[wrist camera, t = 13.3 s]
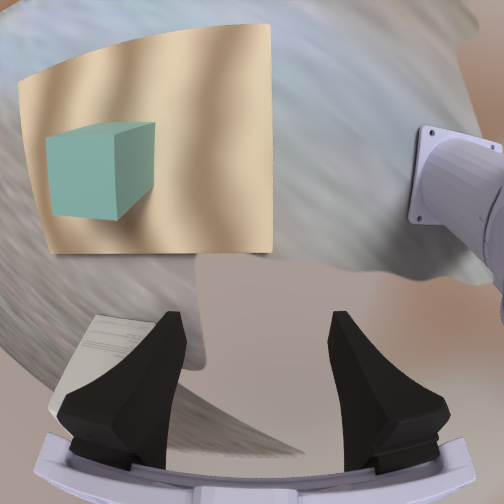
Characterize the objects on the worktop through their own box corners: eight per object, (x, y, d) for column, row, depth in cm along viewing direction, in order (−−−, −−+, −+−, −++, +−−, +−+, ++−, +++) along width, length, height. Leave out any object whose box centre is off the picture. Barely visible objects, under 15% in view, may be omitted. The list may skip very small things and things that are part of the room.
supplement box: (111, 357, 31) (75, 443, 20) (95, 311, 28) (43, 406, 17) (167, 367, 31) (142, 463, 20) (158, 321, 28) (120, 432, 17)
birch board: (269, 29, 15) (270, 23, 14) (271, 243, 23) (272, 252, 22) (29, 80, 16) (18, 82, 15) (58, 246, 24) (50, 254, 22)
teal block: (155, 121, 17) (114, 134, 12) (153, 185, 19) (117, 220, 14) (97, 123, 17) (45, 138, 12) (99, 182, 19) (53, 214, 14)
